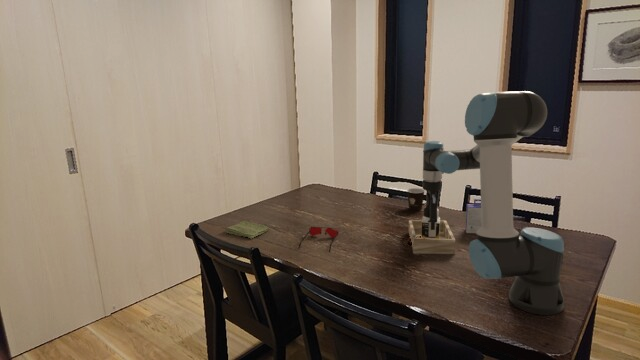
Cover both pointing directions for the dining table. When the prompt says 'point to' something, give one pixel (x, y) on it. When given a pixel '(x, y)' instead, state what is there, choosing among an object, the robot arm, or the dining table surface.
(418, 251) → the birch box
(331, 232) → the glasses
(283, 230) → the dining table surface
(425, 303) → the dining table surface
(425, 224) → the medicine bottle
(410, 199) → the coffee mug
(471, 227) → the ink cartridge box
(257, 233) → the washcloth
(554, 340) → the dining table surface
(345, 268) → the dining table surface
